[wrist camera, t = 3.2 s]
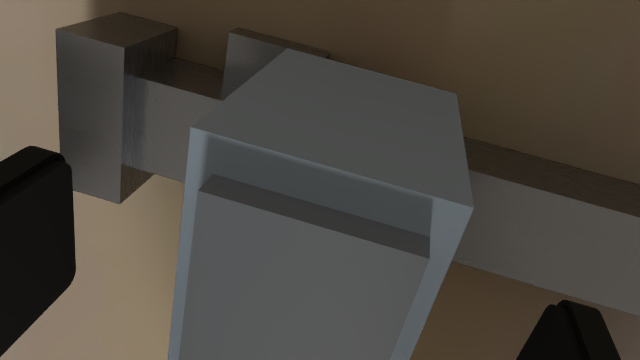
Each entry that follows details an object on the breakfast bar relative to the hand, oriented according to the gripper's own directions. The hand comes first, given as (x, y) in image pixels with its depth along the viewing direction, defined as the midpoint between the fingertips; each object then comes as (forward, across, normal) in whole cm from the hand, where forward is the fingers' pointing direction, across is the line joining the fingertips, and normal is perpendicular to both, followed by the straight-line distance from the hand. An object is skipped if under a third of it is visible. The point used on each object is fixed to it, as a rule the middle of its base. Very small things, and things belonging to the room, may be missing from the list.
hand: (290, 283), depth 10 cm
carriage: (+6, 0, +1) cm, 6 cm away
